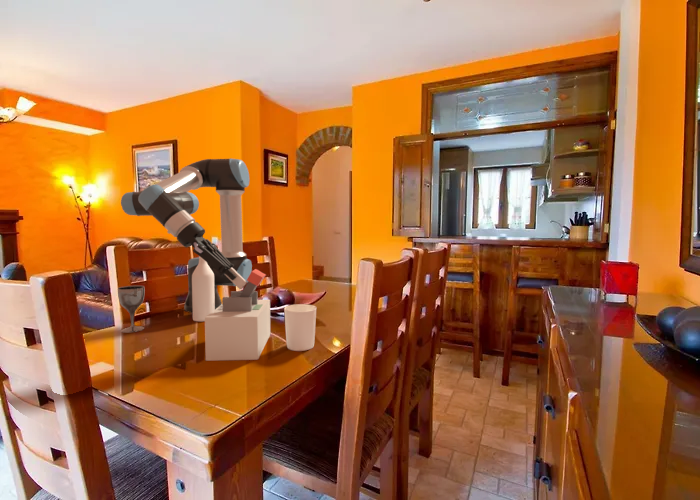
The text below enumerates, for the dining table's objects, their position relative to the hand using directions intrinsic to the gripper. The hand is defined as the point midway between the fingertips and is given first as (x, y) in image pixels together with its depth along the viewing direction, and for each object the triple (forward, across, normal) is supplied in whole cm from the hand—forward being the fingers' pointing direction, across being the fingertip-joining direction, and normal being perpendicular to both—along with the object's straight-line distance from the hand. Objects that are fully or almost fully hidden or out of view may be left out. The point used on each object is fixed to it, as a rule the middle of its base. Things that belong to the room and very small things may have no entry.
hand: (243, 286), depth 103 cm
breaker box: (+13, -1, -14) cm, 19 cm away
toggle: (+3, -1, -5) cm, 6 cm away
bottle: (-4, -33, -30) cm, 45 cm away
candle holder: (+25, -1, -1) cm, 25 cm away
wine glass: (-17, -20, -44) cm, 51 cm away
